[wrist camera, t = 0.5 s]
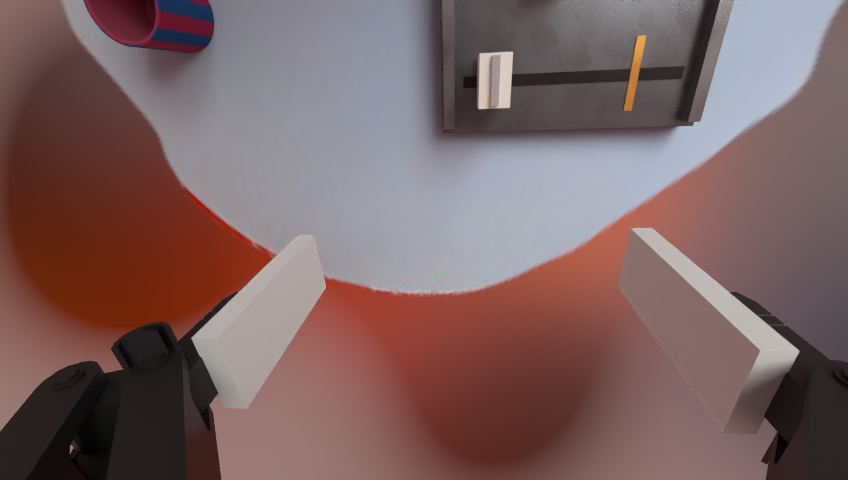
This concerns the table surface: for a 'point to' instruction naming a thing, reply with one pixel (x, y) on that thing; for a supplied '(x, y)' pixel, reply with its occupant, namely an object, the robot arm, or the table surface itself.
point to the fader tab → (494, 80)
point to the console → (582, 62)
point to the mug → (155, 23)
